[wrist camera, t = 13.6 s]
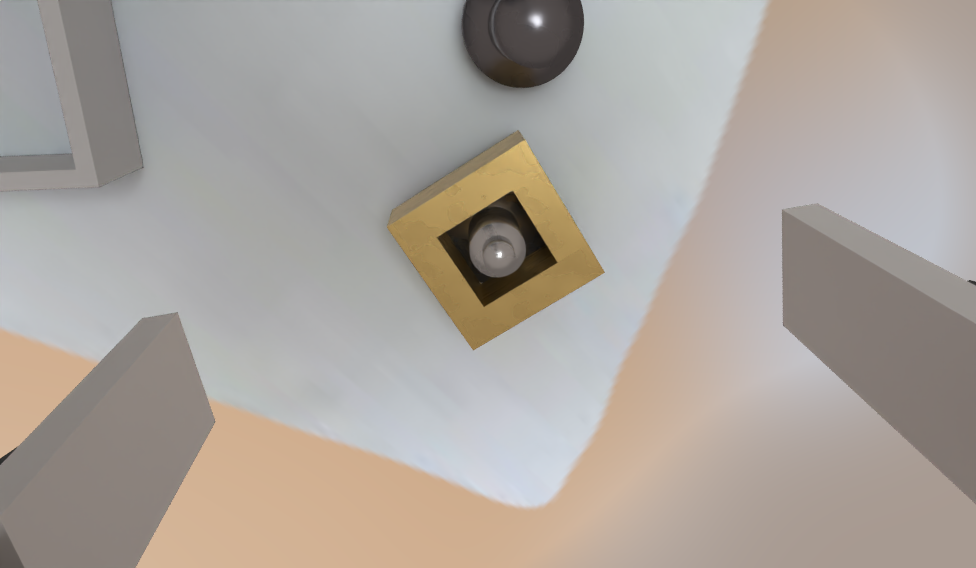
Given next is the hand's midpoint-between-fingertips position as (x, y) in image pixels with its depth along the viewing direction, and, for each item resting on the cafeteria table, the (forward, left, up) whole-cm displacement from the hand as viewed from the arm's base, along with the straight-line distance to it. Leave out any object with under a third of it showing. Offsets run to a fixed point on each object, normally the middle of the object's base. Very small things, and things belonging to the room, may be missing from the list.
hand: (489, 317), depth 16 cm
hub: (+2, -6, -31) cm, 32 cm away
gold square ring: (+2, -6, -29) cm, 29 cm away
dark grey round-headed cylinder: (+4, +6, -31) cm, 32 cm away
